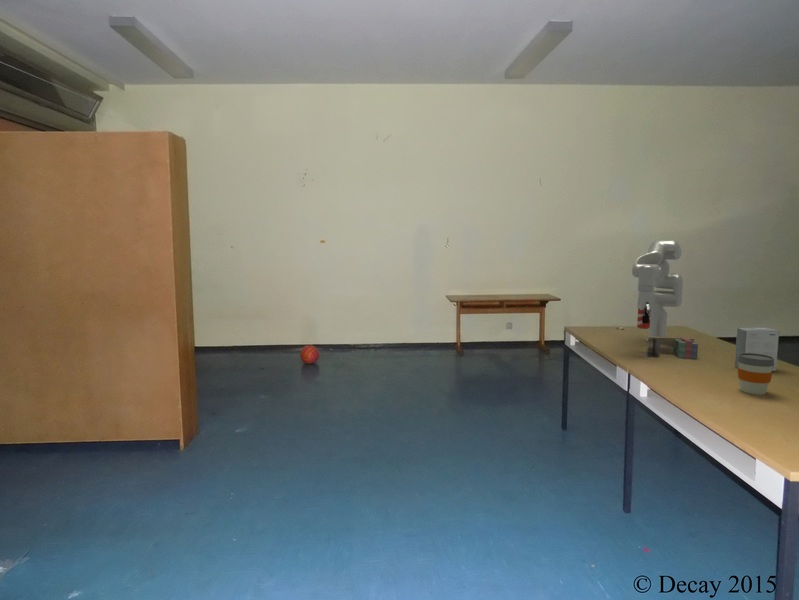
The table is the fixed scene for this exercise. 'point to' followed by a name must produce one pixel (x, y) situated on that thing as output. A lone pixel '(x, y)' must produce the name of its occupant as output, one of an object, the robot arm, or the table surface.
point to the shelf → (675, 346)
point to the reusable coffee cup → (755, 372)
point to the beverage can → (639, 320)
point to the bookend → (654, 349)
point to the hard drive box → (757, 343)
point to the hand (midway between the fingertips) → (643, 321)
